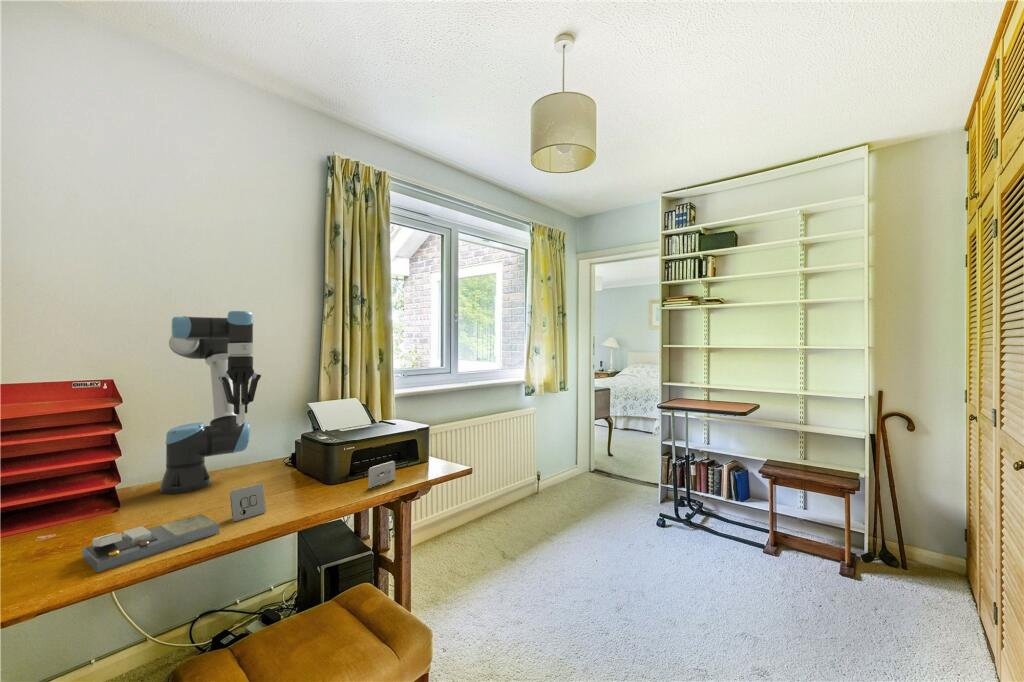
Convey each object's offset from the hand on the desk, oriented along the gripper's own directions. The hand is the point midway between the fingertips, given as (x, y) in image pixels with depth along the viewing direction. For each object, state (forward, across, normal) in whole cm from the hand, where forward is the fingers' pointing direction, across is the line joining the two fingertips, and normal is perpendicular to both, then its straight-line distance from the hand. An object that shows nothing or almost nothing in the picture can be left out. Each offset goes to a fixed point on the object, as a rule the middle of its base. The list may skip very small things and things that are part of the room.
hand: (240, 423), depth 153 cm
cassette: (+27, +38, -28) cm, 54 cm away
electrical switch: (+27, -6, -17) cm, 32 cm away
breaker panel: (+26, -29, -17) cm, 43 cm away
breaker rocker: (+22, -39, -16) cm, 47 cm away
